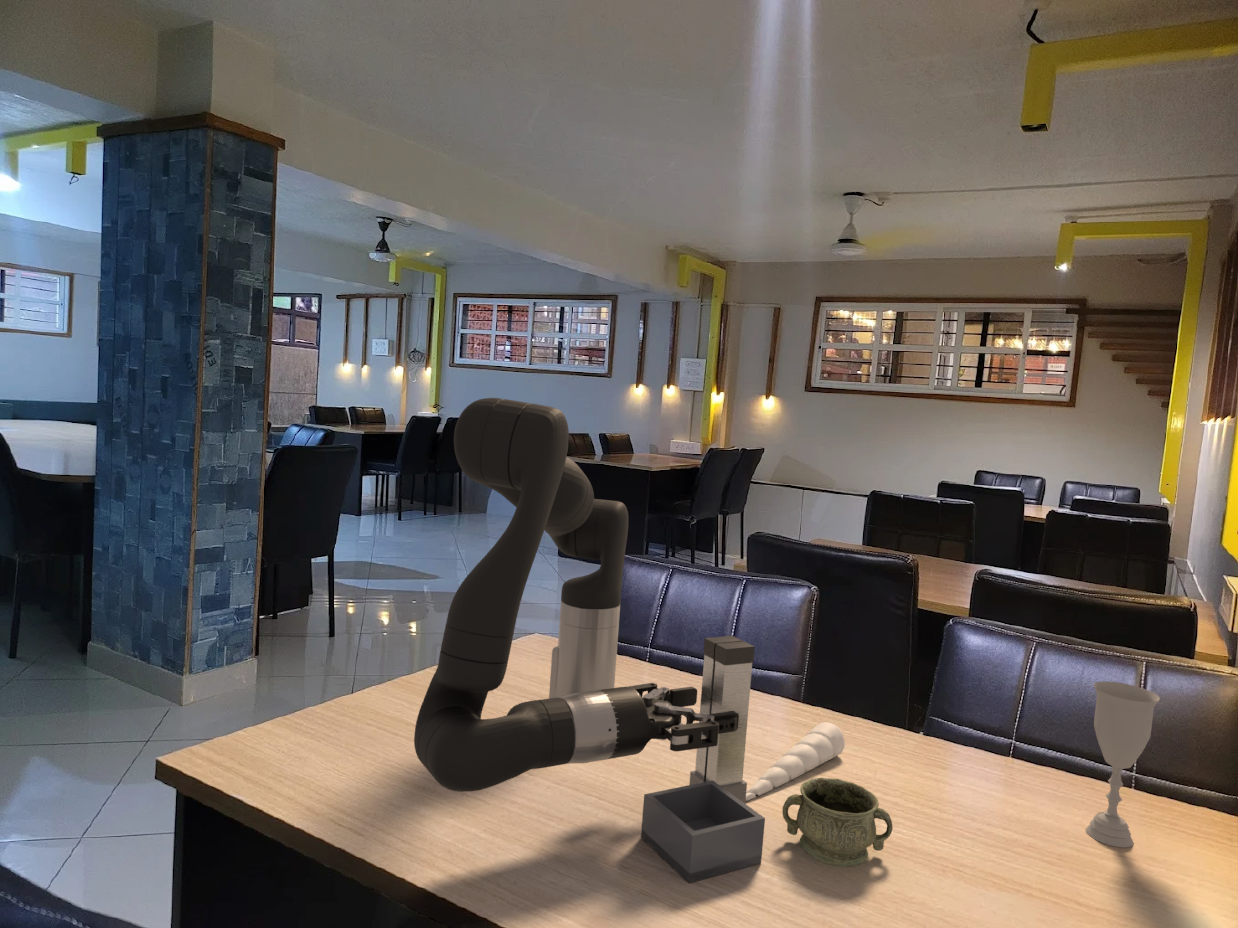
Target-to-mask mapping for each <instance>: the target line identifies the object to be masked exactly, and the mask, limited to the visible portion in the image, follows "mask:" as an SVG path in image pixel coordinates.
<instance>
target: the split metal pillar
mask: <svg viewBox="0 0 1238 928" xmlns="http://www.w3.org/2000/svg"><path fill="white" fill-rule="evenodd" d="M755 648H756V647H755V645H753V644H751V643H748V642H746V641H745V640H742V639H740V638H738V637H736V636H734V635H726V636H724V635H723V636H717V637H716V636H715V637H705V638H704V642H703V651H702V652H703V666H702V667H703V670H702V683H701V693H700V706H699V713H700V714H709V715H710V714H715V713H721V712H728V711H735V712H736V713H738V714H739V722H738V729H737V730H736V731H733V732H727V733H721V734H718V745H717V746H713V747H706V748H699V749H696V758H695V769H694V770H693V771H690V773H689V784H688V785H693V784H697V783H702V782H707V781H712V780H713V781H714V782H716V783H717V784H718V785H720V786H721V787H723V788H724V789H725V790H727V791H728V792H730V793H731V794H732V795H734V796H735V797H736V798H738V799H739V800H741V801H742V802H743V803H745V804H746V802H747V801H746V792H747V791H748V788H747V786H748V783H747V782H746V781H745V780H744V779H743V778H744V777H743V776H744V765H745V754H746V744H747V743H746V741H747V728H748V718H749V705H750V695H751V694H750V693H751V684H752V683H751V682H752V672H753V671H752V670H753V669H752V668H753V664H754V662H755V661H754V660H755V650H756V649H755ZM700 722H701V721H698V723H700ZM701 739H703V738H701Z"/></svg>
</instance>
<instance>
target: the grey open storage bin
mask: <svg viewBox="0 0 1238 928" xmlns="http://www.w3.org/2000/svg"><path fill="white" fill-rule="evenodd" d="M642 806H643V807H642V817H641V818H642V819H641V821H642V822H641V832H640V838H641V840H642V841H644V842H645V843H646V844H647V845H648V846H649V847H650V848H651V849H652V850H653V851H654V852H655V853H656V854H658V856H660V858H661V859H663V861H665V862H666V863H667V864H668V865H669V866H670V867H671V868H672V869H674V871H676V873H678V874H679V876H680V877H682V878H683V880H685V881H686V882H687V883H688V884H690V883H691V884H692V883H695V882H698V881H702V880H706V879H709V878H713V877H716V876H721V875H724V874H727V873H731V872H734V871H738V870H741V869H747V868H749V867H752V866H756V865H760V864H762V857H763V845H764V833H765V821H766V818H765V817H764V816H763V815H762V814H760V813H759V812H757V811H756V810H754V809H753V808H752V807H750V806H749V805H748V804H746V802H745V803H743V802H742V801H741V800H739V799H738V798H736V797H735V796H734V795H732V794H731V793H730V792H728V791H727V790H725V789H724V788H723V787H721V786H720V785H718V784H717V783H716V782H714V781H713V780H712V781H707V782H702V783H697V784H693V785H689V784H688V785H683V786H679V787H673V788H669V789H665V790H664V789H663V790H659V791H655V792H654V791H653V792H648V793H644V794H643V805H642Z"/></svg>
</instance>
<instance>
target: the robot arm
mask: <svg viewBox="0 0 1238 928" xmlns="http://www.w3.org/2000/svg"><path fill="white" fill-rule="evenodd" d="M569 433H570V431H569V425H568V420H567V418H566V416H565V414H564V412H562V411H561V409H559V408H556V407H553V406H548V405H542V404H538V403H530V402H525V401H520V400H519V401H518V400H513V399H506V398H498V397H488V398H480V399H477V400H474V401H473V402H471V403H470V404H468V405H467V406H466V407H465V408H464V409H463V411H462V412H461V413H460V415H459V417H458V419H457V421H456V424H455V428H454V432H453V447H454V448H453V449H454V453H455V457H456V461H457V463H458V466H459V467H460V469H461V470H462V472H463V474H464V475H465V476H466V477H467V478H468V479H470V480H472V481H473V482H476V483H479V484H481V485H483V486H484V487H487V488H489V489H491V490H493V491H495V492H497V493H499V495H501V496H502V497H504V498H505V499H506V500H507V501H508V502H509V503H510V504H511V505H512V506H515V511H514V513H513V515H512V518H511V520H510V522H509V524H508V525H507V528H506V529H505V530H504V532H503V533H502V534H501V536H500V537H499V538H498V540H497V541H496V543H495V544H494V545H493V546H492V547H491V549H489V551H488V552H487V553H486V554H485V555H484V557H482V559H481V560H480V561H479V562H478V563H477V564H476V565H475V566H474V567H473V569H472V570H471V571H470V572H469V574H468V575H467V576H466V577H465V578H464V579H463V580H462V582H461V584H460V585H459V587H458V588H457V590H456V592H455V593H454V596H453V598H452V600H451V604H450V605H449V609H448V613H447V617H446V623H445V628H444V632H443V637H442V639H441V640H442V641H441V646H440V650H439V657H438V664H437V667H436V669H435V672H434V674H433V676H432V678H431V680H430V683H429V684H428V687H427V690H426V692H425V695H424V697H423V700H422V703H421V705H420V708H419V711H418V715H417V717H416V720H415V721H416V722H415V725H414V726H415V727H414V736H413V744H414V750H415V754H416V757H417V758H418V760H419V762H420V763H421V764H422V765H423V767H424V768H425V769H426V770H427V771H428V773H429V774H430V775H431V776H432V777H433V779H434V780H435V781H436V782H437V783H438V784H439V785H440V786H441V787H443V788H445V789H447V790H450V791H453V792H462V793H464V792H465V793H467V792H475V791H482V790H486V789H489V788H491V787H494V786H497V785H499V784H502V783H504V782H507V781H509V780H512V779H513V778H516V777H518V776H520V775H523V774H525V772H528V771H530V770H535V769H536V770H538V769H544V768H545V769H546V768H551V767H556V766H564V765H568V764H569V765H570V764H588V763H593V762H594V763H595V762H599V761H604V760H611V759H617V758H622V757H623V758H624V757H628V756H629V757H630V756H634V755H635V756H636V755H637V754H640V753H641V752H642V751H644V749H645V747H646V746H647V744H648V743H649V742H650V741H651V740H658V741H659V740H660V741H666V740H668V741H669V742H670V743H669V744H670V745H669V750H671V751H673V752H682V751H683V752H684V751H689V750H697V749H699V748H706V747H713V746H717V745H718V734H721V733H727V732H733V731H736V730H737V729H738V722H739V714H738V713H736V712H735V711H728V712H721V713H715V714H710V715H709V714H700V712H699V713H698V712H695V711H694V709H693V708H692V706H695V705H696V704H697V700H698V689H697V688H696V687H695V686H694V687H693V686H685V687H678V688H669V687H666V686H661V687H659V688H658V683H656V682H655V683H654V682H647V683H642V684H635V685H628V686H619V687H615V685H616V684H615V683H616V670H617V667H616V666H617V656H618V655H617V654H618V643H619V641H618V640H619V630H620V629H619V626H620V612H621V598H622V588H623V575H624V565H625V557H626V556H625V554H626V547H627V541H628V533H629V511H628V508H627V506H626V504H625V503H623V502H621V501H619V500H608V499H600V498H599V499H598V498H595V496H594V495H595V493H594V489H593V486H592V483H591V481H590V480H589V478H588V477H587V475H586V474H585V473H584V471H583V470H582V469H581V467H580V466H579V465H578V464H577V463H576V462H574V460H572V459H571V458H569V457H568V456H567V455H568V450H569V438H570V436H569V435H570V434H569ZM544 532H545V533H546V534H548V535H549V536H550V538H551V540H552V541H553V543H554V544H555V546H556V547H557V548H558V550H559V551H560V552H561V553H563V554H564V555H567V556H570V557H574V558H581V559H589V560H598V561H599V560H600V561H601V562H600V566H599V568H598V569H597V570H595V571H592V573H588V574H585V575H582V576H577V577H573V578H570V579H568V580H566V581H564V582H563V583H562V587H561V594H560V610H559V626H558V628H559V629H558V642H557V646H555V647H553V648H552V650H551V664H550V676H549V677H550V679H549V692H548V693H549V694H548V698H541V699H535V700H529V701H524V702H519V703H518V704H515V705H513V706H512V707H511V708H510V709H509V710H508V712H507V714H506V715H503V716H499V717H495V718H487V719H485V718H483V719H482V714H483V713H482V712H483V709H484V705H485V702H486V699H487V696H488V694H489V692H491V691H494V690H496V689H497V688H499V687H500V686H501V685H502V683H503V681H504V679H505V675H506V672H507V667H508V663H509V658H510V653H511V649H512V645H513V639H514V633H515V628H516V624H517V618H518V614H519V610H520V606H521V602H522V598H523V595H524V592H525V588H526V585H527V582H528V579H529V576H530V573H531V570H532V567H533V564H534V561H535V558H536V557H537V556H536V555H537V553H538V550H539V548H540V544H541V541H542V538H543V536H544ZM644 692H647V693H645V694H644ZM682 716H684V717H685V718H686V723H682ZM695 721H696V722H695ZM699 721H701V722H700V723H699ZM701 738H703V739H701Z"/></svg>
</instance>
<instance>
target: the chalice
mask: <svg viewBox="0 0 1238 928" xmlns="http://www.w3.org/2000/svg"><path fill="white" fill-rule="evenodd" d="M1093 687H1094V690H1095V692H1096V694H1097V695H1096V701H1095V711H1094V720H1093V727H1094V731H1095V732H1094V733H1095V735H1096V739H1097V742H1098V745H1099V747H1100V751H1101V754H1102V756H1103V759H1104V761H1105V762H1106V764H1108V765H1110V766H1111V767H1112V769H1111V770H1112V773H1111V776H1110V778H1109V779H1108V780H1107V782H1108V783H1109V787H1110V790H1109V791H1108V793H1107V794H1105V797H1106V799H1107V800H1108V807H1107V808H1106V810H1105V811H1101V812H1098V813H1096V814H1095V815H1094V816H1093V819H1091V820H1090V822H1089V825H1087V827H1086V828H1085V832H1086V834H1088V836H1089V837H1091V838H1093V840H1095V841H1097V842H1100V843H1103V844H1105V845H1108V846H1111V847H1117V848H1131V847H1133V846H1134V844H1135V843H1134V841H1133V838H1132V834H1131V831H1130V829H1129V828H1130V826H1129V825H1128V823H1127V822H1126V820H1125V819H1124V818H1123V817H1121V816H1120V814H1119V813H1118V808H1117V807H1118V806H1119V803H1120V802H1122V801H1123V799H1122V797H1121V795H1120V789H1121V788H1122V787H1123V786H1124V783H1123V782H1122V775H1121V774H1122V773H1123V769H1125V770H1126V769H1130V768H1131V767H1132V766H1133V765H1134V763H1136V762H1137V760H1138V758H1140V756H1141V755H1142V753H1143V752H1144V750H1145V748H1146V746H1147V744H1148V743H1149V741H1150V739H1151V734H1152V729H1153V728H1152V726H1153V725H1152V724H1153V718H1154V712H1155V711H1154V709H1155V706H1156V705H1157V703H1159V701H1160V699H1161V698H1160V696H1159V695H1158V694H1157V693H1154V692H1153V691H1150V690H1148V689H1146V688H1144V687H1139V686H1138V685H1132V684H1128V683H1124V682H1122V683H1121V682H1116V681H1106V680H1105V681H1098V682H1095V683H1093Z"/></svg>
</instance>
